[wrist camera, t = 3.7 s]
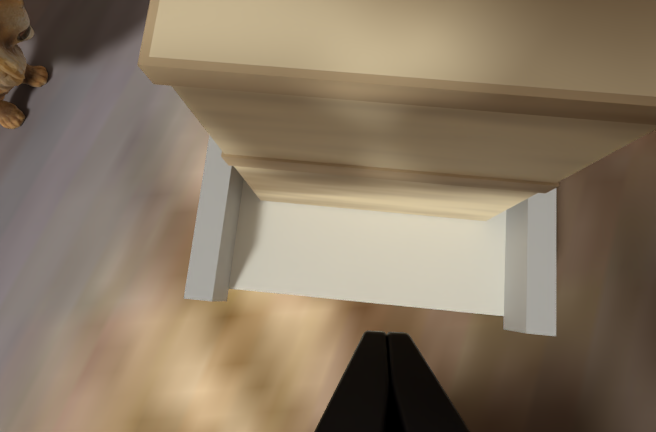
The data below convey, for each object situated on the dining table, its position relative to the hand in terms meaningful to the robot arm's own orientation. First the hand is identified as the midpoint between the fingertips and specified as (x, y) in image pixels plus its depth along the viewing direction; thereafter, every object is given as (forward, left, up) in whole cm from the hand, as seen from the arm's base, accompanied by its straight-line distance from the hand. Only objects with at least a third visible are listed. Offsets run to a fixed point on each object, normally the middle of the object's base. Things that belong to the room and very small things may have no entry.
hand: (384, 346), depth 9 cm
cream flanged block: (+7, -4, -12) cm, 15 cm away
